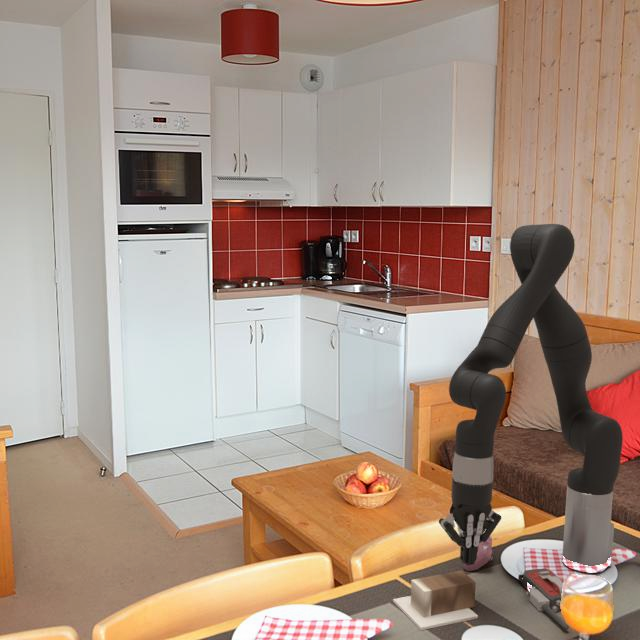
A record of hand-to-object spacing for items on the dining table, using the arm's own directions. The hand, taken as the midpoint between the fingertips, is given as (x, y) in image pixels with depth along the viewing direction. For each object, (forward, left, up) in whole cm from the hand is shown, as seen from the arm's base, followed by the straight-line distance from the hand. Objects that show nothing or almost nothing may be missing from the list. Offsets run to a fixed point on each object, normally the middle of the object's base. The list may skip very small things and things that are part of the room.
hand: (467, 563), depth 151 cm
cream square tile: (+7, 0, -8) cm, 11 cm away
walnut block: (0, 0, -5) cm, 5 cm away
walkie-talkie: (-16, +6, -9) cm, 19 cm away
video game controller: (-12, -14, -9) cm, 20 cm away
